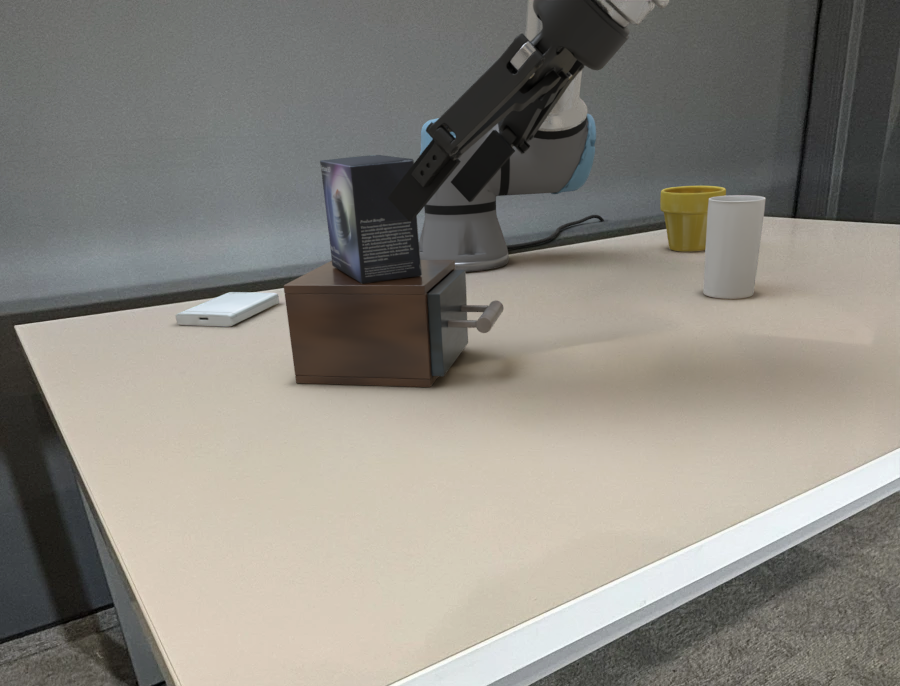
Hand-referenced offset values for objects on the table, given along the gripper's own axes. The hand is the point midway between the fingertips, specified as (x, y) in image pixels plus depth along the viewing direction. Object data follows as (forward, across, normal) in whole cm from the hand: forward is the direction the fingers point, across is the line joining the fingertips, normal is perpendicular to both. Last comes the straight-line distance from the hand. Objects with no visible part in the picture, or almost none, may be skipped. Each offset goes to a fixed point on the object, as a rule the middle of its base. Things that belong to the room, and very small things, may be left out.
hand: (432, 200), depth 73 cm
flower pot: (+2, +74, -22) cm, 77 cm away
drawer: (+13, +1, -9) cm, 16 cm away
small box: (+10, 0, 0) cm, 10 cm away
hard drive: (+38, +15, +15) cm, 44 cm away
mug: (-5, +41, -28) cm, 50 cm away
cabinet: (+16, 0, -7) cm, 18 cm away
